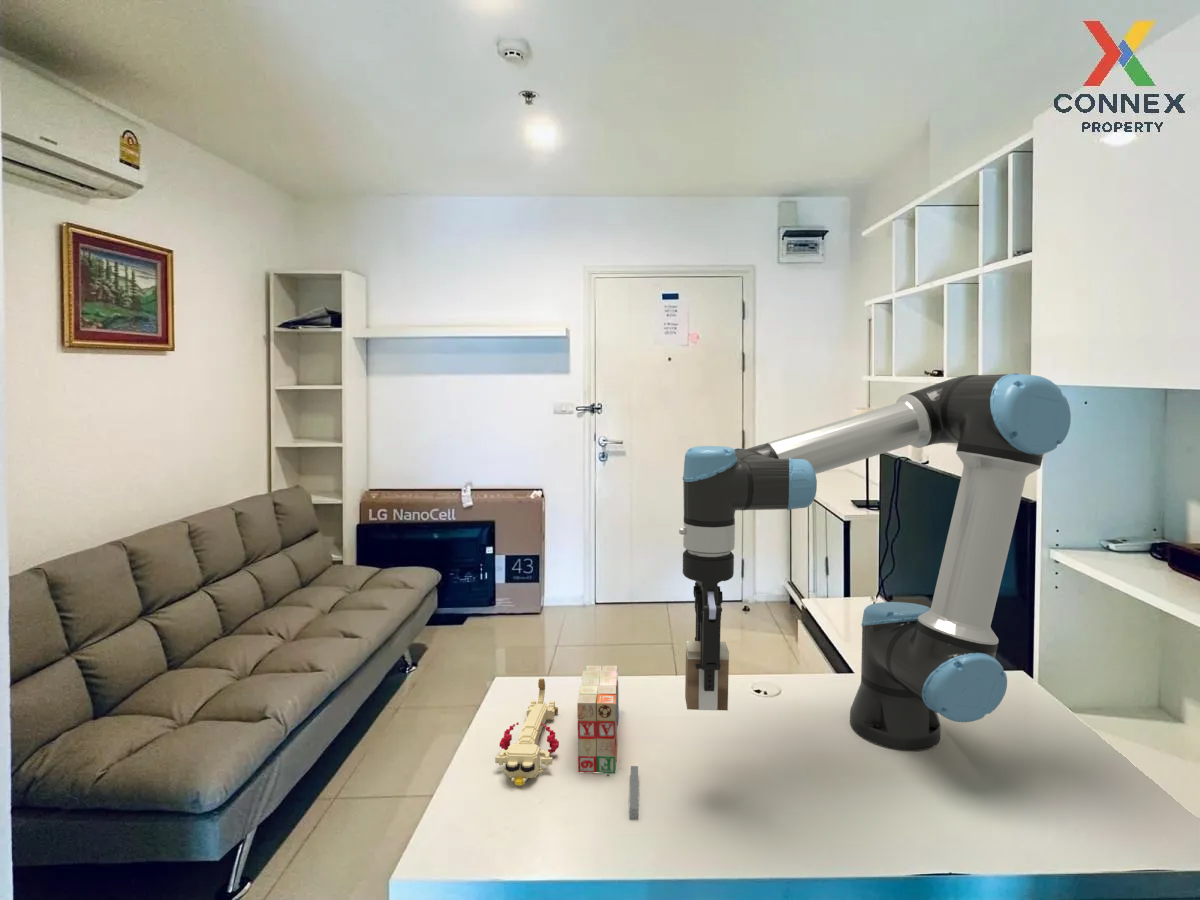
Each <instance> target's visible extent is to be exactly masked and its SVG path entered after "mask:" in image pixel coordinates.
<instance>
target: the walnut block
mask: <svg viewBox="0 0 1200 900" xmlns="http://www.w3.org/2000/svg"><path fill="white" fill-rule="evenodd" d="M700 662H701V651H700V641H695V640H685V676H684V677H685V682H684V683H685V684H684V685H685V688H684V691H685V692H684V693H685V694H684V695H685V696H684V699H685V704H686V709H687V710H689V711H691V710H695V711H696V710H697V711H700V710H699V669H696V666H695V664H700ZM729 663H730V651H729V649H728V645H727V643H726V641H720V670H718V702H717V710H716V711H727V712H728V710H729V709H728V708H729V707H728V706H729V674H730V673H729V672H730V671H729V669H730V668H729V667H730V666H729V665H730V664H729Z"/></svg>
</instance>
